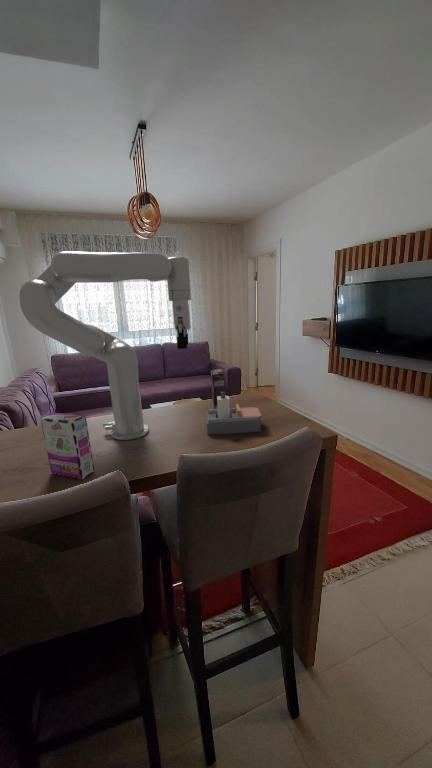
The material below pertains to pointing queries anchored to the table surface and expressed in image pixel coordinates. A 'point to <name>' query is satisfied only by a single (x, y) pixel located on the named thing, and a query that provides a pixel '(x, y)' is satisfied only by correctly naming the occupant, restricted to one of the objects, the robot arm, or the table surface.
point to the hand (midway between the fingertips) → (183, 346)
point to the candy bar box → (68, 444)
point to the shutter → (247, 412)
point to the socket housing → (231, 423)
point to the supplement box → (217, 385)
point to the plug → (223, 406)
